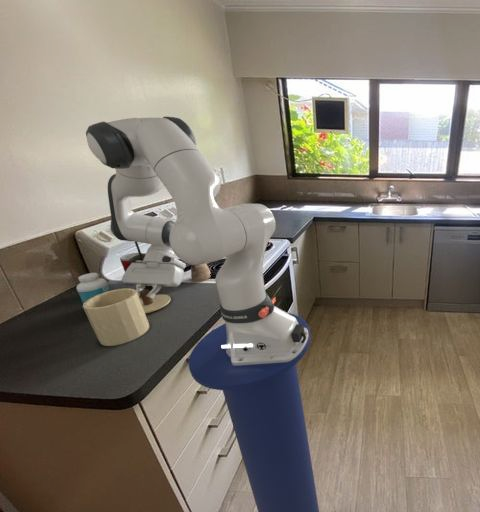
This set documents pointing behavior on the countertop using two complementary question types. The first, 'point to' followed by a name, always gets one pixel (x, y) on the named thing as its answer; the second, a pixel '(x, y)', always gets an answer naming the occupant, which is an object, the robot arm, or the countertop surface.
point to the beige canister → (116, 316)
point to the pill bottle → (91, 286)
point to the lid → (153, 301)
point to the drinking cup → (140, 257)
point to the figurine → (200, 272)
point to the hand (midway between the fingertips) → (144, 297)
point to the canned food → (127, 260)
